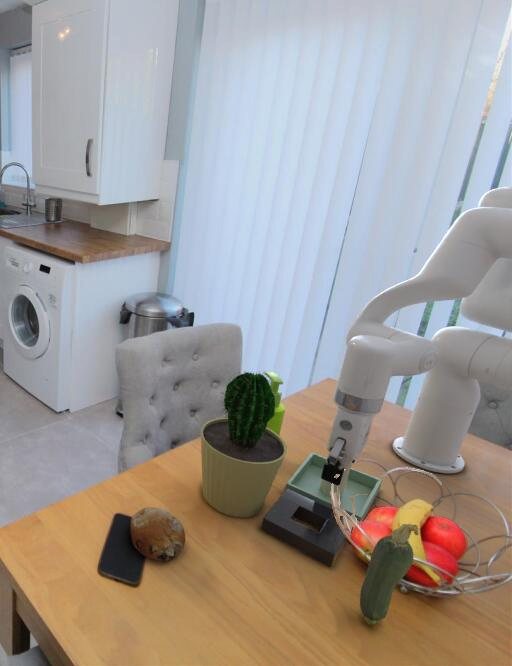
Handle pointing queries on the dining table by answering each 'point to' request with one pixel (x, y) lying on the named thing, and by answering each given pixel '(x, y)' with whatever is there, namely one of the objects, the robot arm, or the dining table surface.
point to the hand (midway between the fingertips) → (337, 470)
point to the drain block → (300, 536)
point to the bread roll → (157, 534)
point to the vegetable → (386, 572)
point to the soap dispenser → (280, 407)
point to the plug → (326, 485)
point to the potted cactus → (241, 448)
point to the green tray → (358, 483)
